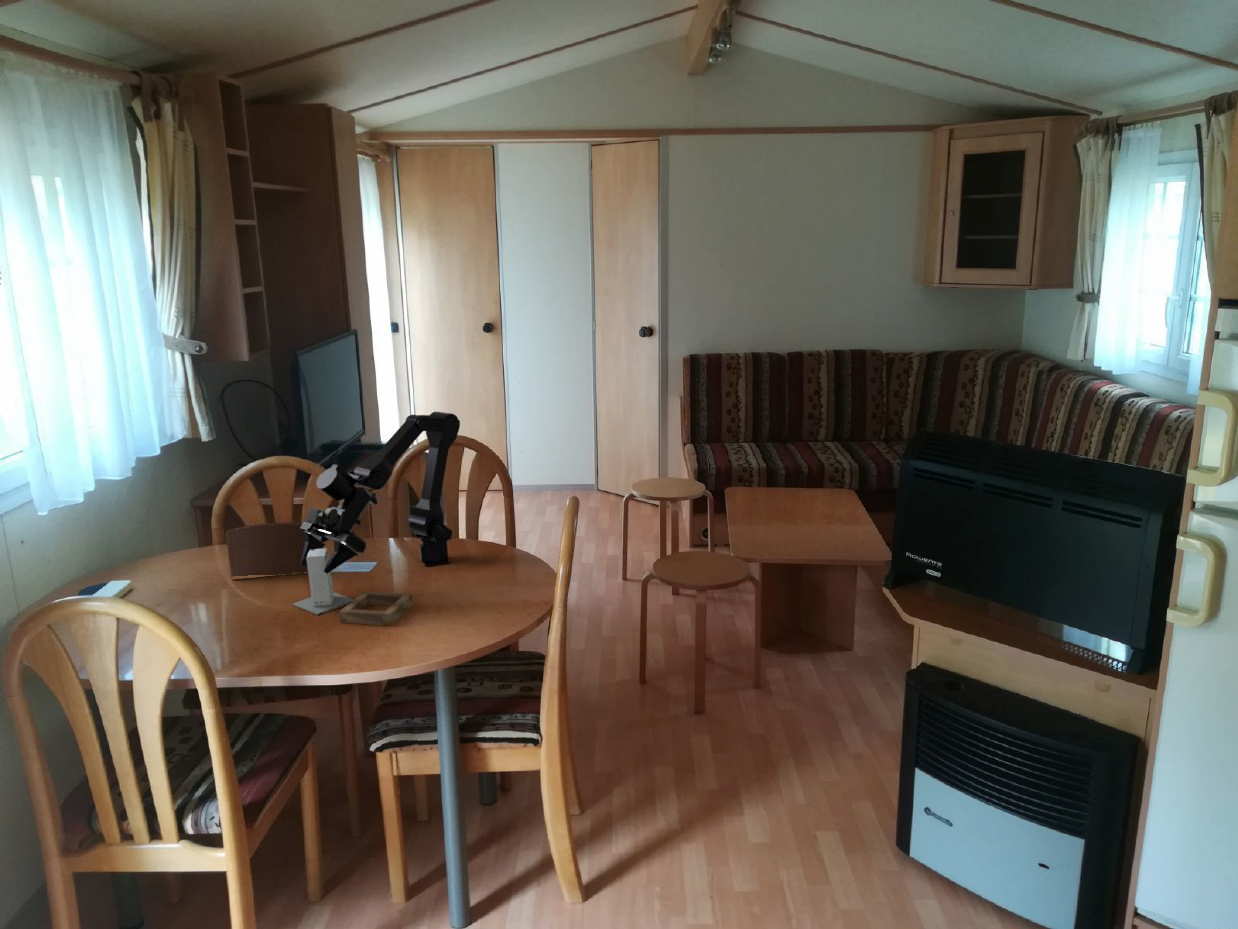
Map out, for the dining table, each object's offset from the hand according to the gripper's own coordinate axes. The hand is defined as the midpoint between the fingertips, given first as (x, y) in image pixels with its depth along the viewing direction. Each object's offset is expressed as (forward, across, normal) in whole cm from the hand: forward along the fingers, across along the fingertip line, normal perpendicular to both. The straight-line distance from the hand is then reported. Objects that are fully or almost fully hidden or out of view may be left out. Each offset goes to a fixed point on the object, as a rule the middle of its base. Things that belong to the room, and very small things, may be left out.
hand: (313, 568), depth 210 cm
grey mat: (+5, 0, +7) cm, 9 cm away
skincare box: (+5, 0, +7) cm, 9 cm away
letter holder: (+1, -30, +12) cm, 32 cm away
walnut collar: (+3, +15, +10) cm, 19 cm away
